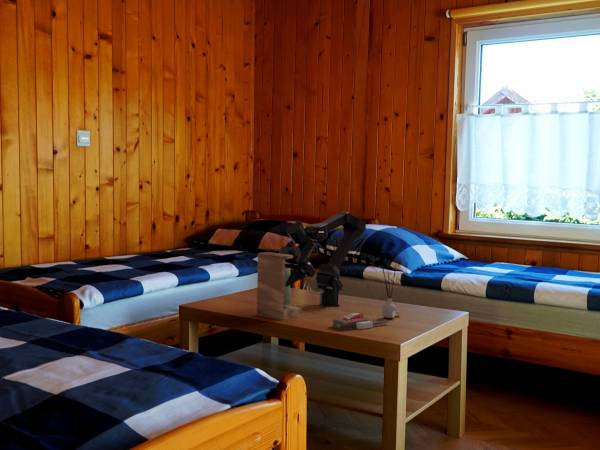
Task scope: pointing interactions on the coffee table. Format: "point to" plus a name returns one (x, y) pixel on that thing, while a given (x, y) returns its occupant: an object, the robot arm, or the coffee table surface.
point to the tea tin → (287, 289)
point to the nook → (273, 287)
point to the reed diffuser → (389, 301)
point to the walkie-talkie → (354, 322)
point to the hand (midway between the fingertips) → (280, 285)
